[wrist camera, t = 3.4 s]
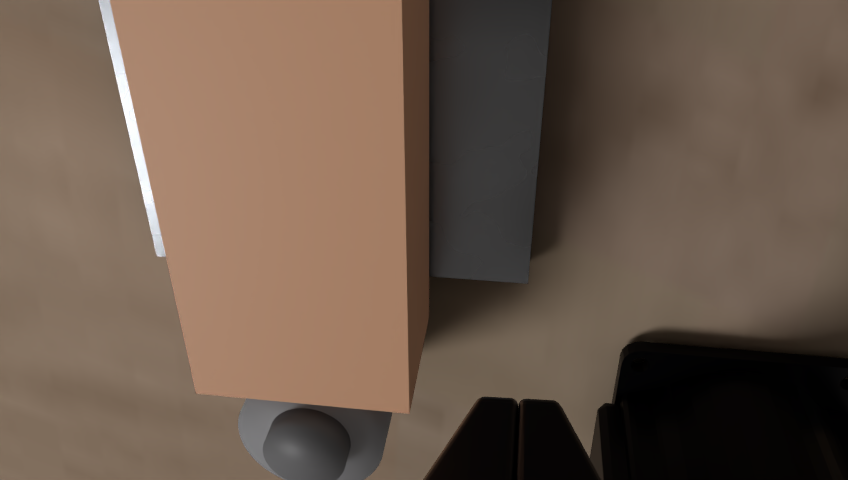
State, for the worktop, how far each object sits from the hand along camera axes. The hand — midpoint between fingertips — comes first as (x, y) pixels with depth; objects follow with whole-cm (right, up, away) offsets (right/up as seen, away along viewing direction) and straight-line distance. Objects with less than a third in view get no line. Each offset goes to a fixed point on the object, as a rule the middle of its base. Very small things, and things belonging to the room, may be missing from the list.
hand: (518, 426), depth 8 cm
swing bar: (-3, +5, +11) cm, 12 cm away
